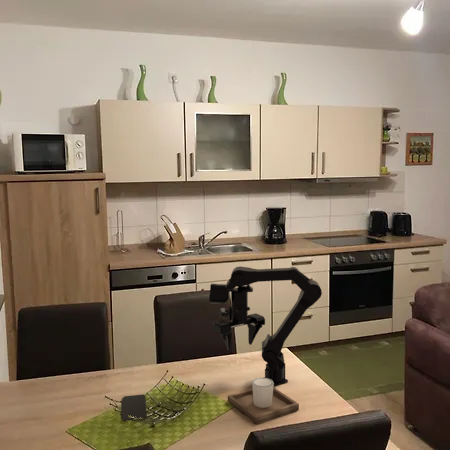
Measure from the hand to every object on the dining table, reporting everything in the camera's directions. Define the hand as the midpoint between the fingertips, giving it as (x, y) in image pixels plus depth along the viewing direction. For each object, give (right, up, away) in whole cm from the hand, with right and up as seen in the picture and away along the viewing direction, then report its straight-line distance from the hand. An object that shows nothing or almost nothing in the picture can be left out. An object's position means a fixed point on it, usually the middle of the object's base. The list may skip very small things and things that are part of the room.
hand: (239, 347), depth 167 cm
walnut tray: (+7, -14, -17) cm, 23 cm away
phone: (-34, -15, -17) cm, 41 cm away
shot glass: (+7, -14, -17) cm, 23 cm away
